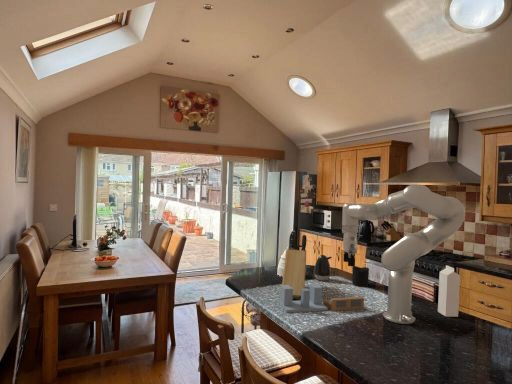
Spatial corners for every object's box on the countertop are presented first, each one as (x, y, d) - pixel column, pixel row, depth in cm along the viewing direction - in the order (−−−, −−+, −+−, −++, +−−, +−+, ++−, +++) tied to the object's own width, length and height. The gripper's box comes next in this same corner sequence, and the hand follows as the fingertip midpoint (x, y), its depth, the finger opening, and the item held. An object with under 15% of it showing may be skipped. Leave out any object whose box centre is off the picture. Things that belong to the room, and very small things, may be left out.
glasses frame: (363, 308, 157) (364, 298, 157) (332, 310, 153) (333, 299, 153) (353, 302, 166) (353, 292, 166) (323, 303, 162) (324, 293, 162)
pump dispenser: (332, 282, 200) (333, 257, 199) (315, 281, 200) (316, 256, 200) (328, 277, 210) (329, 253, 210) (312, 276, 210) (313, 252, 210)
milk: (449, 312, 157) (452, 265, 157) (458, 317, 151) (460, 268, 151) (437, 311, 157) (439, 264, 157) (445, 316, 151) (447, 268, 150)
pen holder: (359, 281, 203) (359, 265, 203) (371, 286, 195) (372, 269, 195) (348, 283, 198) (348, 266, 198) (360, 288, 190) (361, 270, 190)
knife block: (305, 282, 197) (307, 230, 197) (303, 302, 163) (306, 239, 162) (286, 280, 199) (288, 229, 199) (280, 300, 165) (282, 237, 164)
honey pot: (299, 277, 207) (300, 248, 207) (278, 277, 206) (279, 248, 206) (295, 272, 220) (296, 245, 220) (275, 272, 219) (277, 244, 219)
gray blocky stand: (327, 310, 153) (328, 290, 153) (286, 312, 148) (287, 292, 148) (317, 301, 164) (318, 283, 164) (278, 303, 159) (279, 285, 159)
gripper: (362, 231, 155) (361, 268, 155) (353, 227, 172) (352, 260, 172) (346, 230, 155) (345, 267, 155) (338, 226, 172) (337, 259, 172)
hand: (349, 263), depth 163 cm, fingers open, 9 cm apart
